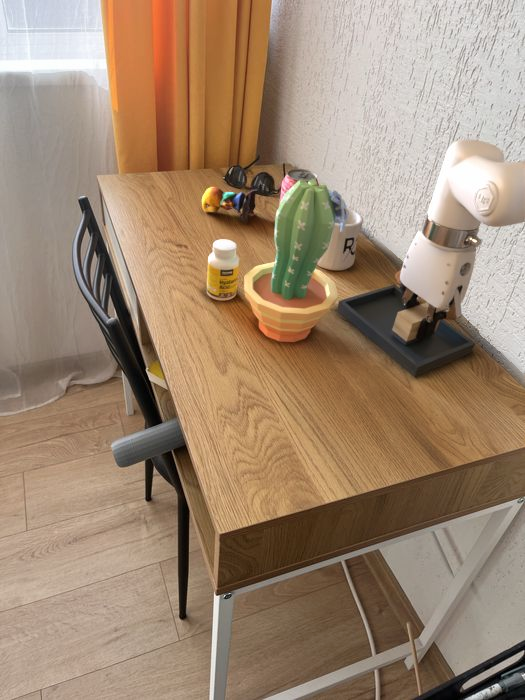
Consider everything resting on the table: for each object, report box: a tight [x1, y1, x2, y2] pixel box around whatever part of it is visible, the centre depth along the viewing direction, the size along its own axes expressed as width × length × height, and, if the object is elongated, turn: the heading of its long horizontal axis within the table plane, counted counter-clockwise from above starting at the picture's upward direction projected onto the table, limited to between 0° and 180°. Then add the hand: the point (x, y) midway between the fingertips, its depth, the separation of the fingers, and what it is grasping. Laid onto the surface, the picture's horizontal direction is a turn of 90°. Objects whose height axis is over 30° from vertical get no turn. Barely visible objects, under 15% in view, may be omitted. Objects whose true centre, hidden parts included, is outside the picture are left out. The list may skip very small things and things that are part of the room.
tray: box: [336, 283, 476, 378], centre depth 90 cm, size 20×14×2 cm
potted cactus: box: [243, 179, 348, 343], centre depth 81 cm, size 15×15×25 cm
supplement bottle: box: [206, 238, 240, 302], centre depth 92 cm, size 5×5×10 cm
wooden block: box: [391, 301, 440, 345], centre depth 88 cm, size 7×4×4 cm, turn 122°
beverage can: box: [278, 168, 320, 207], centre depth 114 cm, size 8×8×12 cm
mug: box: [316, 207, 364, 272], centre depth 106 cm, size 12×9×10 cm
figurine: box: [201, 186, 258, 225], centre depth 118 cm, size 11×8×6 cm, turn 66°
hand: (414, 329), depth 88 cm, fingers closed on wooden block, 3 cm apart
